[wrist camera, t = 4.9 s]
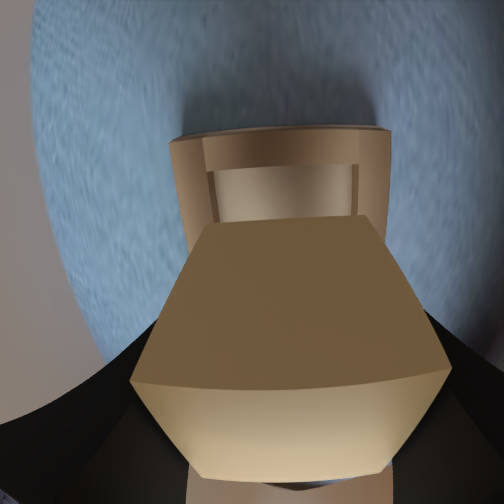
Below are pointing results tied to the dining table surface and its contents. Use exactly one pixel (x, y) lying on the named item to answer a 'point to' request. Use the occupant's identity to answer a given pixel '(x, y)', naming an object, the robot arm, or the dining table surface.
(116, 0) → the dining table surface
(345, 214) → the slot board
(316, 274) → the ochre block
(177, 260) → the dining table surface
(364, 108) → the dining table surface
